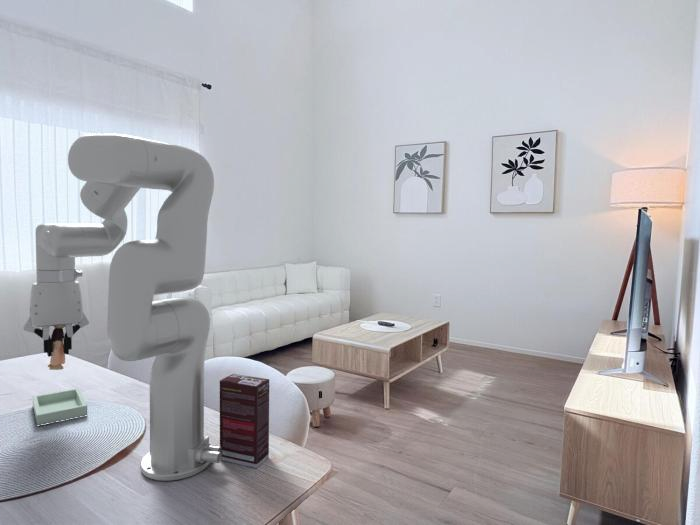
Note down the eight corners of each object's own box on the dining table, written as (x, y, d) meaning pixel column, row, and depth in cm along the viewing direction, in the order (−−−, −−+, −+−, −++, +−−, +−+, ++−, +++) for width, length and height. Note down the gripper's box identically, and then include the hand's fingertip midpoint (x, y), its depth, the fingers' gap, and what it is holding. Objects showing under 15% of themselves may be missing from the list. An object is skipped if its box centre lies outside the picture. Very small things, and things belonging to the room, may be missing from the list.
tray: (87, 416, 102) (87, 405, 102) (37, 427, 96) (36, 415, 96) (78, 397, 112) (78, 388, 112) (32, 406, 106) (32, 396, 106)
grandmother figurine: (70, 369, 102) (75, 316, 102) (51, 372, 99) (56, 317, 99) (59, 362, 107) (63, 310, 107) (40, 364, 104) (45, 311, 104)
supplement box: (269, 457, 86) (271, 378, 85) (256, 469, 81) (257, 386, 80) (232, 448, 89) (233, 372, 88) (218, 460, 84) (218, 380, 83)
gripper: (93, 273, 110) (94, 345, 111) (11, 276, 99) (14, 355, 101) (98, 276, 104) (99, 352, 105) (12, 280, 94) (15, 364, 95)
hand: (57, 353), depth 103 cm, fingers closed on grandmother figurine, 2 cm apart
